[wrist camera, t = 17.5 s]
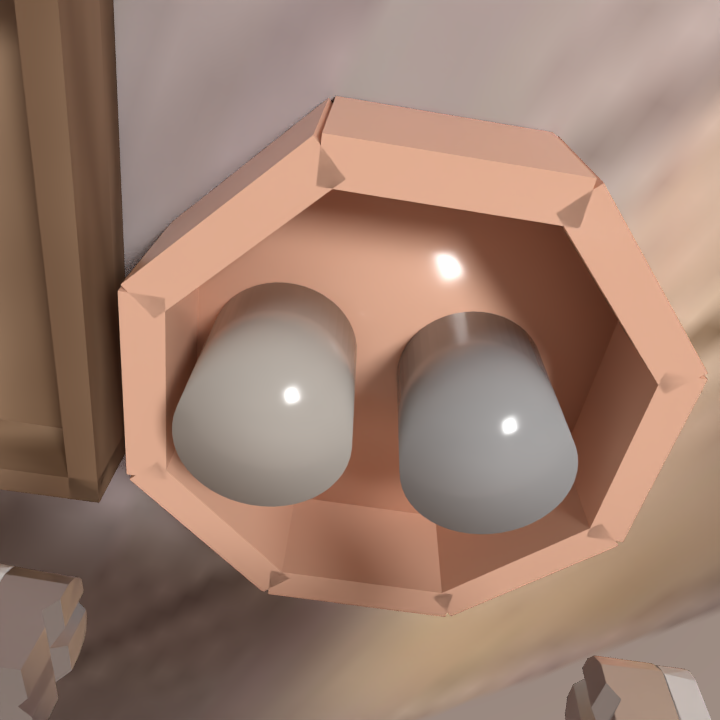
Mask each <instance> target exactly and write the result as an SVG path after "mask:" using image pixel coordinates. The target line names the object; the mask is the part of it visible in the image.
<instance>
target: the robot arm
mask: <svg viewBox="0 0 720 720" xmlns="http://www.w3.org/2000/svg"><path fill="white" fill-rule="evenodd" d="M83 592H84V591H83V585H82V580H81V578H79V577H74V576H68V575H62V574H56V573H50V572H44V571H38V570H32V569H27V568H21V567H16V566H10V565H4V564H0V720H48V719H49V716H50V714H51V712H52V710H53V708H54V706H55V704H56V702H57V700H58V693H57V687H56V682H57V681H58V680H60V679H61V678H62V677H64V676H65V675H66V674H68V673H69V672H70V671H72V669H73V667H74V665H75V662H76V660H77V658H78V656H79V654H80V651H81V648H82V644H83V641H84V638H85V634H86V626H87V614H86V609H85V608H84V607H83V606H82V605H81V604H80V603H79V602H78V601H79V600H80V598H81V596H82V594H83ZM582 669H583V673H584V678H585V679H583V680H581V681H579V682H577V683H575V684H573V686H572V688H571V690H570V692H569V695H568V697H567V703H566V712H565V719H566V720H712V719H711V717H710V714H709V712H708V709H707V707H706V704H705V702H704V699H703V697H702V694H701V692H700V689H699V687H698V684H697V682H696V679H695V677H694V676H693V675H692V674H691V673H690V671H689V670H685V669H680V668H674V667H666V666H658V665H654V664H652V663H645V662H638V661H631V660H623V659H616V658H609V657H601V656H592V657H590V658H588V659H587V661H586V662H585V664H584V666H583V668H582Z"/></svg>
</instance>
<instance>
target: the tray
mask: <svg viewBox="0 0 720 720" xmlns="http://www.w3.org/2000/svg"><path fill="white" fill-rule="evenodd" d="M124 280H125V266H124V242H123V219H122V195H121V172H120V148H119V125H118V101H117V78H116V54H115V31H114V7H113V0H0V489H1V490H8V491H16V492H23V493H31V494H38V495H46V496H53V497H61V498H68V499H76V500H83V501H90V502H98V503H99V502H100V500H101V498H102V496H103V494H104V492H105V491H106V489H107V487H108V485H109V483H110V481H111V479H112V477H113V475H114V473H115V472H116V470H117V468H118V466H119V464H120V462H121V460H122V458H123V456H124V455H125V453H126V448H125V428H124V408H123V388H122V368H121V348H120V328H119V307H118V290H119V289H120V287H121V283H122V282H123V281H124Z"/></svg>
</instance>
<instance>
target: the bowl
mask: <svg viewBox="0 0 720 720" xmlns="http://www.w3.org/2000/svg"><path fill="white" fill-rule="evenodd" d="M273 282H284V283H292V284H298V285H301V286H305V287H308V288H310V289H313V290H315V291H317V292H319V293H321V294H323V295H324V296H326V297H327V298H329V299H330V300H331V301H332V302H334V303H335V304H336V305H337V306H338V307H339V308H340V309H341V310H342V312H343V313H344V314H345V316H346V317H347V319H348V320H349V322H350V324H351V326H352V328H353V331H354V334H355V338H356V344H357V358H356V378H355V397H354V417H353V437H352V451H351V456H350V459H349V462H348V465H347V467H346V469H345V470H344V472H343V474H342V475H341V476H340V478H339V479H338V480H337V481H336V482H335V483H334V484H333V485H332V486H331V487H330V488H328V489H327V490H326V491H324V492H323V493H321V494H319V495H318V496H316V497H314V498H312V499H309V500H307V501H304V502H300V503H297V504H292V505H287V506H276V507H266V506H255V505H249V504H244V503H240V502H237V501H234V500H230V499H228V498H226V497H223V496H221V495H219V494H217V493H215V492H214V491H212V490H210V489H209V488H207V487H206V486H204V485H203V484H202V483H200V482H199V481H198V480H197V479H196V478H195V477H194V476H193V475H192V474H191V473H190V472H189V471H188V470H187V469H186V467H185V466H184V464H183V463H182V461H181V460H180V458H179V456H178V454H177V451H176V449H175V446H174V442H173V436H172V423H173V416H174V413H175V410H176V408H177V405H178V403H179V401H180V398H181V396H182V394H183V392H184V389H185V387H186V385H187V383H188V380H189V378H190V376H191V373H192V371H193V369H194V367H195V364H196V362H197V360H198V358H199V355H200V353H201V351H202V348H203V346H204V344H205V342H206V339H207V337H208V335H209V333H210V330H211V328H212V326H213V324H214V321H215V319H216V317H217V315H218V313H219V312H220V310H221V309H222V308H223V306H224V305H225V304H226V303H227V302H228V301H229V300H230V299H231V298H232V297H234V296H235V295H237V294H238V293H240V292H242V291H243V290H245V289H248V288H250V287H253V286H256V285H260V284H264V283H273ZM118 307H119V328H120V348H121V368H122V388H123V408H124V428H125V448H126V468H127V474H129V475H131V477H130V480H131V481H132V482H133V483H135V484H136V485H137V486H138V487H139V488H141V489H142V490H143V491H144V492H145V493H146V494H148V495H149V496H150V497H151V498H152V499H154V500H155V501H156V502H157V503H158V504H159V505H161V506H162V507H163V508H164V509H165V510H167V511H168V512H169V513H170V514H171V515H172V516H174V517H175V518H176V519H177V520H178V521H180V522H181V523H182V524H183V525H184V526H185V527H187V528H188V529H189V530H190V531H191V532H193V533H194V534H195V535H196V536H197V537H198V538H200V539H201V540H202V541H203V542H204V543H206V544H207V545H208V546H209V547H210V548H211V549H213V550H214V551H215V552H216V553H217V554H219V555H220V556H221V557H222V558H223V559H224V560H226V561H227V562H228V563H229V564H230V565H232V566H233V567H234V568H235V569H236V570H237V571H239V572H240V573H241V574H242V575H243V576H245V577H246V578H247V579H248V580H249V581H250V582H252V583H253V584H254V585H255V586H256V587H258V588H259V589H260V590H261V591H262V592H263V591H265V590H268V589H269V590H268V594H272V595H279V596H287V597H295V598H303V599H311V600H318V601H326V602H334V603H342V604H349V605H357V606H365V607H373V608H380V609H388V610H396V611H404V612H411V613H419V614H427V615H435V616H442V617H445V616H446V613H448V614H449V615H450V616H453V615H455V614H457V613H460V612H462V611H464V610H467V609H469V608H472V607H474V606H476V605H479V604H481V603H483V602H486V601H488V600H491V599H493V598H495V597H498V596H500V595H502V594H505V593H507V592H510V591H512V590H514V589H517V588H519V587H522V586H524V585H526V584H529V583H531V582H533V581H536V580H538V579H541V578H543V577H545V576H548V575H550V574H552V573H555V572H557V571H560V570H562V569H564V568H567V567H569V566H571V565H574V564H576V563H579V562H581V561H583V560H586V559H588V558H590V557H593V556H595V555H598V554H600V553H602V552H605V551H607V550H609V549H612V548H614V547H617V546H618V544H617V541H619V542H623V541H624V539H625V537H626V535H627V533H628V531H629V529H630V527H631V525H632V523H633V522H634V520H635V518H636V516H637V514H638V512H639V510H640V508H641V506H642V504H643V502H644V500H645V499H646V497H647V495H648V493H649V491H650V489H651V487H652V485H653V483H654V481H655V479H656V477H657V476H658V474H659V472H660V470H661V468H662V466H663V464H664V462H665V460H666V458H667V456H668V455H669V453H670V451H671V449H672V447H673V445H674V443H675V441H676V439H677V437H678V435H679V433H680V432H681V430H682V428H683V426H684V424H685V422H686V420H687V418H688V416H689V414H690V412H691V410H692V409H693V407H694V405H695V403H696V401H697V399H698V397H699V395H700V393H701V391H702V389H703V387H704V386H705V384H706V382H707V380H708V379H707V378H706V377H705V376H704V375H705V374H707V371H706V369H705V367H704V365H703V363H702V362H701V360H700V358H699V356H698V354H697V352H696V351H695V349H694V347H693V345H692V343H691V341H690V340H689V338H688V336H687V334H686V332H685V331H684V329H683V327H682V325H681V323H680V321H679V320H678V318H677V316H676V314H675V312H674V310H673V309H672V307H671V305H670V303H669V301H668V299H667V298H666V296H665V294H664V292H663V290H662V288H661V287H660V285H659V283H658V281H657V279H656V277H655V276H654V274H653V272H652V270H651V268H650V266H649V265H648V263H647V261H646V259H645V257H644V255H643V254H642V252H641V250H640V248H639V246H638V244H637V243H636V241H635V239H634V237H633V235H632V233H631V232H630V230H629V228H628V226H627V224H626V223H625V221H624V219H623V217H622V215H621V213H620V212H619V210H618V208H617V206H616V204H615V202H614V201H613V199H612V197H611V195H610V193H609V191H608V190H607V188H606V186H605V184H604V183H603V182H602V181H601V179H600V178H599V177H598V176H597V175H596V174H595V173H594V172H593V171H592V170H591V169H590V168H589V167H588V166H587V165H586V164H585V163H584V162H583V161H582V160H581V159H580V158H579V157H578V156H577V155H576V154H575V153H574V152H573V151H572V150H571V149H570V148H569V146H568V145H567V144H566V143H565V142H564V141H563V140H562V139H561V138H560V137H559V136H558V137H557V136H556V135H555V134H554V133H553V132H548V131H542V130H536V129H530V128H524V127H518V126H512V125H506V124H500V123H494V122H488V121H482V120H476V119H471V118H465V117H459V116H453V115H447V114H441V113H435V112H429V111H423V110H417V109H411V108H405V107H399V106H393V105H387V104H381V103H375V102H369V101H363V100H357V99H351V98H345V97H339V96H336V97H335V100H334V102H333V103H332V101H331V100H330V99H329V98H328V99H327V100H325V101H324V102H323V103H321V104H320V105H319V106H318V107H316V108H315V109H314V110H313V111H311V112H310V113H309V114H308V115H306V116H305V117H304V118H303V119H301V120H300V121H299V122H297V123H296V124H295V125H294V126H292V127H291V128H290V129H289V130H287V131H286V132H285V133H284V134H282V135H281V136H280V137H279V138H277V139H276V140H275V141H273V142H272V143H271V144H270V145H268V146H267V147H266V148H265V149H263V150H262V151H261V152H260V153H258V154H257V155H256V156H255V157H253V158H252V159H251V160H250V161H248V162H247V163H246V164H244V165H243V166H242V167H241V168H239V169H238V170H237V171H236V172H234V173H233V174H232V175H231V176H229V177H228V178H227V179H226V180H224V181H223V182H222V183H220V184H219V185H218V186H217V187H215V188H214V189H213V190H212V191H210V192H209V193H208V194H207V195H205V196H204V197H203V198H202V199H200V200H199V201H198V202H196V203H195V204H194V205H193V206H191V207H190V208H189V209H188V210H186V211H185V212H184V213H183V214H181V215H180V216H179V217H178V218H176V219H175V220H174V221H172V222H171V223H170V225H169V226H168V227H167V228H166V230H165V231H164V232H163V233H162V234H161V236H160V237H159V238H158V239H157V241H156V242H155V243H154V244H153V245H152V247H151V248H150V249H149V250H148V252H147V253H146V254H145V255H144V256H143V258H142V259H141V260H140V261H139V263H138V264H137V265H136V266H135V267H134V269H133V270H132V271H131V272H130V274H129V275H128V276H127V277H126V278H125V280H124V281H123V282H122V283H121V287H120V289H119V290H118ZM472 311H476V312H487V313H492V314H496V315H499V316H503V317H505V318H507V319H509V320H511V321H513V322H515V323H516V324H518V325H519V326H520V327H522V328H523V329H524V330H525V331H526V332H527V333H528V334H529V335H530V337H531V338H532V339H533V341H534V343H535V344H536V346H537V349H538V351H539V353H540V356H541V359H542V361H543V364H544V366H545V369H546V371H547V374H548V377H549V379H550V382H551V384H552V387H553V389H554V392H555V395H556V397H557V400H558V402H559V405H560V407H561V410H562V413H563V415H564V418H565V420H566V423H567V425H568V428H569V430H570V433H571V436H572V438H573V441H574V443H575V446H576V450H577V454H578V469H577V474H576V478H575V481H574V483H573V485H572V487H571V489H570V491H569V493H568V494H567V496H566V497H565V498H564V499H563V501H562V502H561V503H560V504H559V505H558V506H557V507H556V508H555V509H553V510H552V511H551V512H550V513H548V514H547V515H546V516H544V517H543V518H541V519H539V520H537V521H535V522H534V523H531V524H529V525H527V526H524V527H522V528H518V529H515V530H512V531H507V532H503V533H495V534H469V533H462V532H457V531H453V530H450V529H447V528H444V527H441V526H439V525H437V524H435V523H433V522H431V521H429V520H428V519H427V518H425V517H424V516H422V515H421V514H420V513H419V512H418V511H416V510H415V508H414V507H413V506H412V505H411V504H410V502H409V501H408V499H407V498H406V496H405V494H404V492H403V489H402V486H401V482H400V473H399V440H398V406H397V366H398V362H399V359H400V356H401V354H402V352H403V350H404V348H405V347H406V345H407V343H408V342H409V341H410V340H411V338H412V337H413V336H414V335H415V334H416V333H417V332H418V331H420V330H421V329H422V328H424V327H425V326H426V325H428V324H430V323H431V322H433V321H435V320H437V319H440V318H442V317H444V316H448V315H451V314H455V313H461V312H472Z"/></svg>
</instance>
